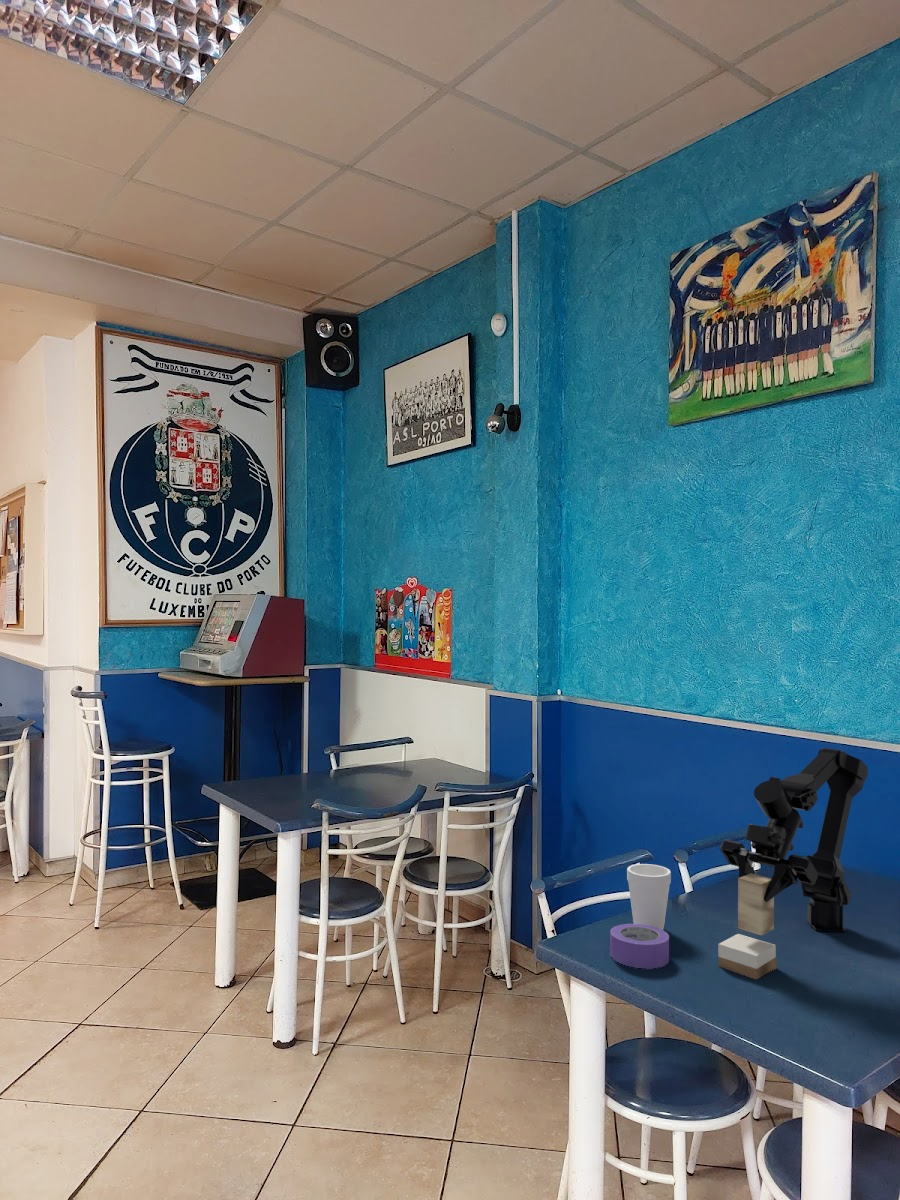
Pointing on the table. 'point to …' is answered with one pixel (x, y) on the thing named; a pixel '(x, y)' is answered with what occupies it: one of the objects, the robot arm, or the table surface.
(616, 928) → the tape roll
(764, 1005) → the table surface
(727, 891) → the table surface
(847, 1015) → the table surface
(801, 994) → the table surface
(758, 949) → the cream slab
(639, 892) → the foam cup
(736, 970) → the walnut slab
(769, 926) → the beech pillar
